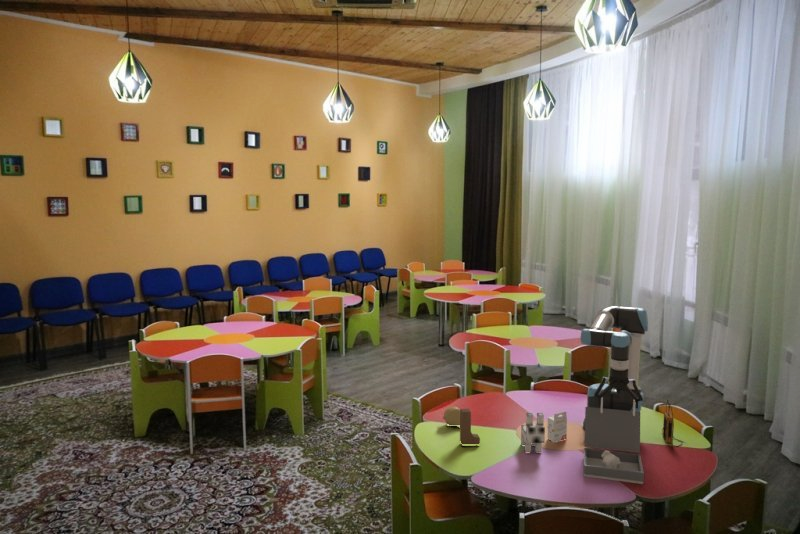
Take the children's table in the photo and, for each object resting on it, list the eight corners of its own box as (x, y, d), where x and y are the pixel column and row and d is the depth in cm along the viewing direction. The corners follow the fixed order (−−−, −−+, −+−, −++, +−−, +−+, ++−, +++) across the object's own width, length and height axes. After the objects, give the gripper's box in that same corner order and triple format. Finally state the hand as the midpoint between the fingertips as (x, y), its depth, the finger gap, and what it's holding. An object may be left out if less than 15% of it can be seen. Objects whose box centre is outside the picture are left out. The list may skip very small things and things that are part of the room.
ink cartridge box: (559, 436, 296) (560, 408, 294) (566, 439, 292) (567, 411, 290) (546, 439, 292) (547, 411, 290) (553, 443, 288) (554, 414, 286)
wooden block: (477, 442, 289) (477, 407, 287) (479, 446, 285) (480, 411, 283) (459, 443, 288) (460, 408, 286) (461, 447, 284) (461, 412, 282)
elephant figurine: (626, 470, 257) (627, 455, 256) (607, 474, 255) (608, 458, 254) (615, 462, 265) (615, 448, 264) (596, 466, 262) (597, 451, 261)
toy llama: (535, 441, 290) (535, 403, 287) (544, 458, 272) (545, 417, 270) (519, 442, 290) (520, 403, 287) (528, 458, 272) (528, 417, 270)
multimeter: (690, 447, 281) (692, 408, 278) (667, 446, 283) (670, 406, 280) (681, 435, 295) (684, 397, 293) (660, 433, 297) (662, 396, 295)
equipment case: (583, 476, 255) (584, 465, 254) (583, 458, 272) (584, 447, 271) (643, 484, 248) (643, 472, 247) (639, 464, 265) (639, 454, 264)
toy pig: (453, 436, 306) (468, 424, 303) (438, 419, 306) (453, 407, 303) (455, 428, 315) (470, 416, 312) (440, 411, 315) (455, 399, 312)
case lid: (585, 406, 275) (585, 406, 277) (584, 446, 272) (584, 446, 274) (640, 412, 268) (639, 412, 270) (639, 452, 264) (639, 452, 266)
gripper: (589, 368, 259) (588, 413, 262) (650, 372, 251) (648, 419, 255) (589, 363, 266) (588, 407, 269) (648, 367, 258) (646, 412, 262)
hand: (617, 413), depth 262 cm, fingers open, 13 cm apart
